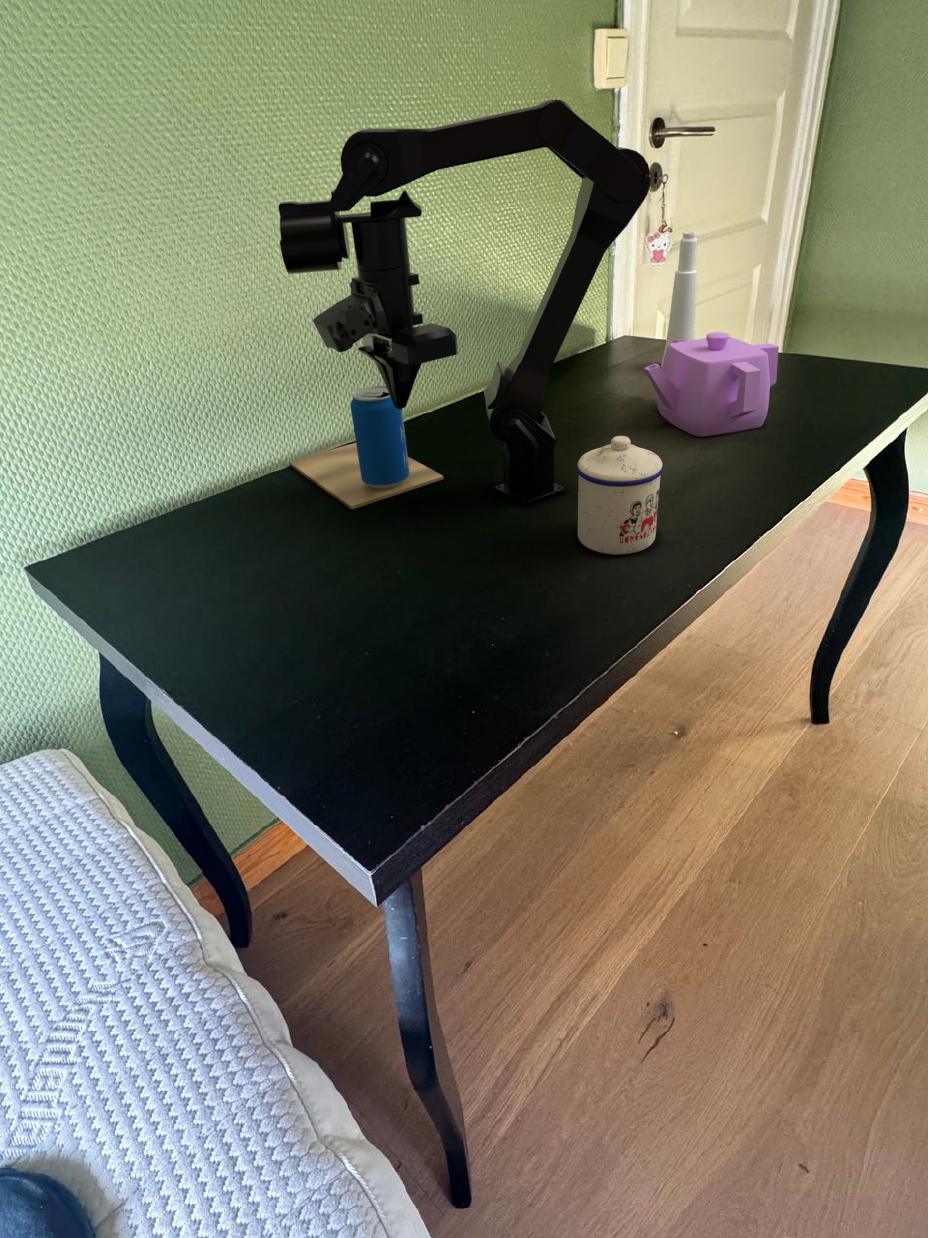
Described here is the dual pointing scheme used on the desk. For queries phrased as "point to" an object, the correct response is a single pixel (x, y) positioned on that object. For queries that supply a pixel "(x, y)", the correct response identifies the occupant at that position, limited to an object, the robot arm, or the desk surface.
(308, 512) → the desk surface
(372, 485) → the beverage can
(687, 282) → the cosmetic bottle
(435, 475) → the board
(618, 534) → the teacup with lid
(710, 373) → the teakettle
